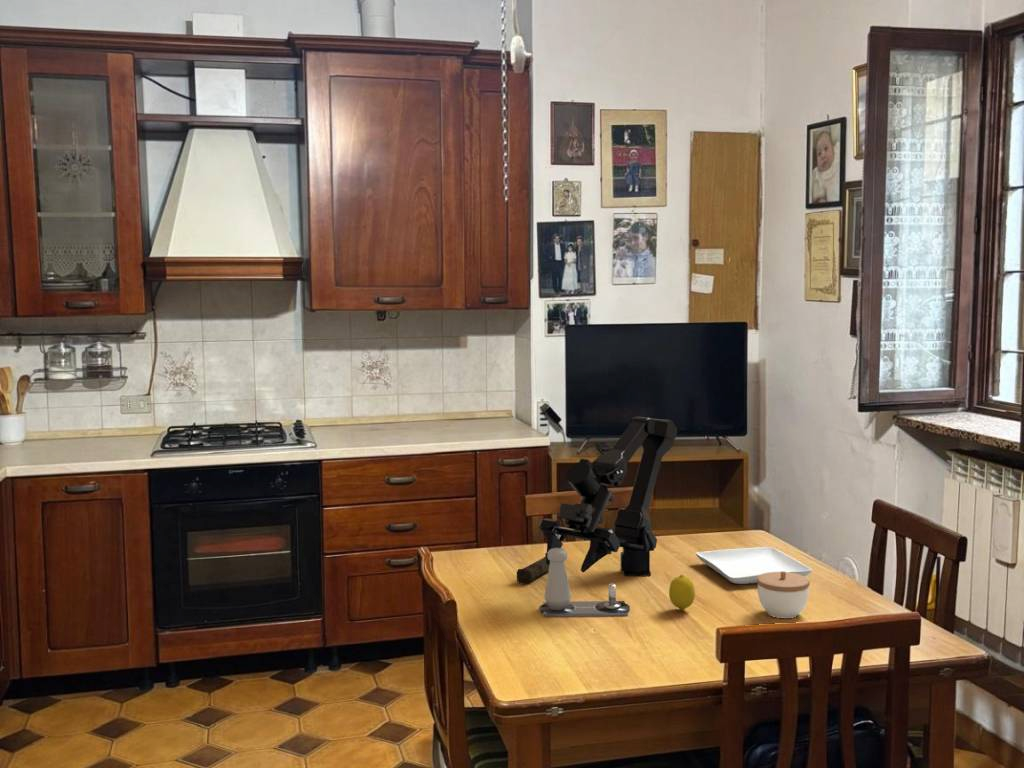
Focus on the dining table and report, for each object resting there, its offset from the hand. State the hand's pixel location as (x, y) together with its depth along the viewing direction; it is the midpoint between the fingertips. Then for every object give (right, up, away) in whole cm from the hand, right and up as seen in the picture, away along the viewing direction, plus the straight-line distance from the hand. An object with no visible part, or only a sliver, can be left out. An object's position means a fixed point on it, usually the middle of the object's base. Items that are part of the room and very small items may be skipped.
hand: (564, 567), depth 227 cm
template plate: (+4, -9, -1) cm, 10 cm away
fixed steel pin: (+10, -9, -1) cm, 14 cm away
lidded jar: (+46, -9, -6) cm, 47 cm away
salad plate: (+47, -6, +24) cm, 53 cm away
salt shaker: (-1, -9, -1) cm, 9 cm away
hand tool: (-4, -6, +26) cm, 27 cm away
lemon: (+25, -9, -3) cm, 27 cm away
